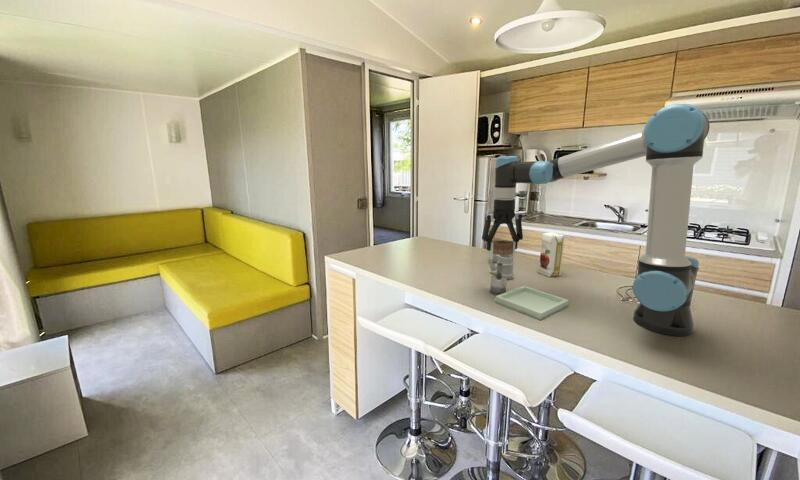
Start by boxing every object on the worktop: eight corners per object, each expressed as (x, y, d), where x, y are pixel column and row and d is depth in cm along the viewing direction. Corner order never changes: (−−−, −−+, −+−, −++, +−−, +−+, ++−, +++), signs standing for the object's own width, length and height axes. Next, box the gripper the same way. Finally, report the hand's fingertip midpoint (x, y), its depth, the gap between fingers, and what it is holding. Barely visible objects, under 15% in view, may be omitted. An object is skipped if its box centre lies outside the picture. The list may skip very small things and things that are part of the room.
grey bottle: (508, 292, 134) (511, 263, 131) (499, 296, 130) (501, 266, 128) (496, 288, 139) (498, 260, 136) (486, 291, 135) (488, 262, 132)
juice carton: (549, 270, 161) (553, 231, 157) (562, 276, 153) (567, 235, 149) (536, 272, 159) (539, 232, 155) (549, 278, 151) (553, 236, 147)
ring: (516, 254, 127) (516, 244, 126) (495, 255, 126) (496, 245, 125) (505, 248, 137) (505, 238, 136) (485, 249, 136) (486, 239, 135)
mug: (506, 281, 147) (508, 254, 144) (484, 274, 156) (485, 249, 153) (516, 277, 151) (518, 251, 149) (494, 271, 160) (496, 246, 158)
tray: (568, 306, 122) (568, 300, 121) (540, 320, 111) (541, 313, 111) (523, 291, 136) (523, 285, 135) (495, 302, 125) (495, 296, 124)
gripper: (526, 197, 131) (522, 254, 136) (474, 198, 129) (471, 256, 133) (536, 199, 124) (531, 259, 129) (481, 200, 121) (478, 261, 126)
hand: (501, 257), depth 131 cm, fingers closed on ring, 8 cm apart
